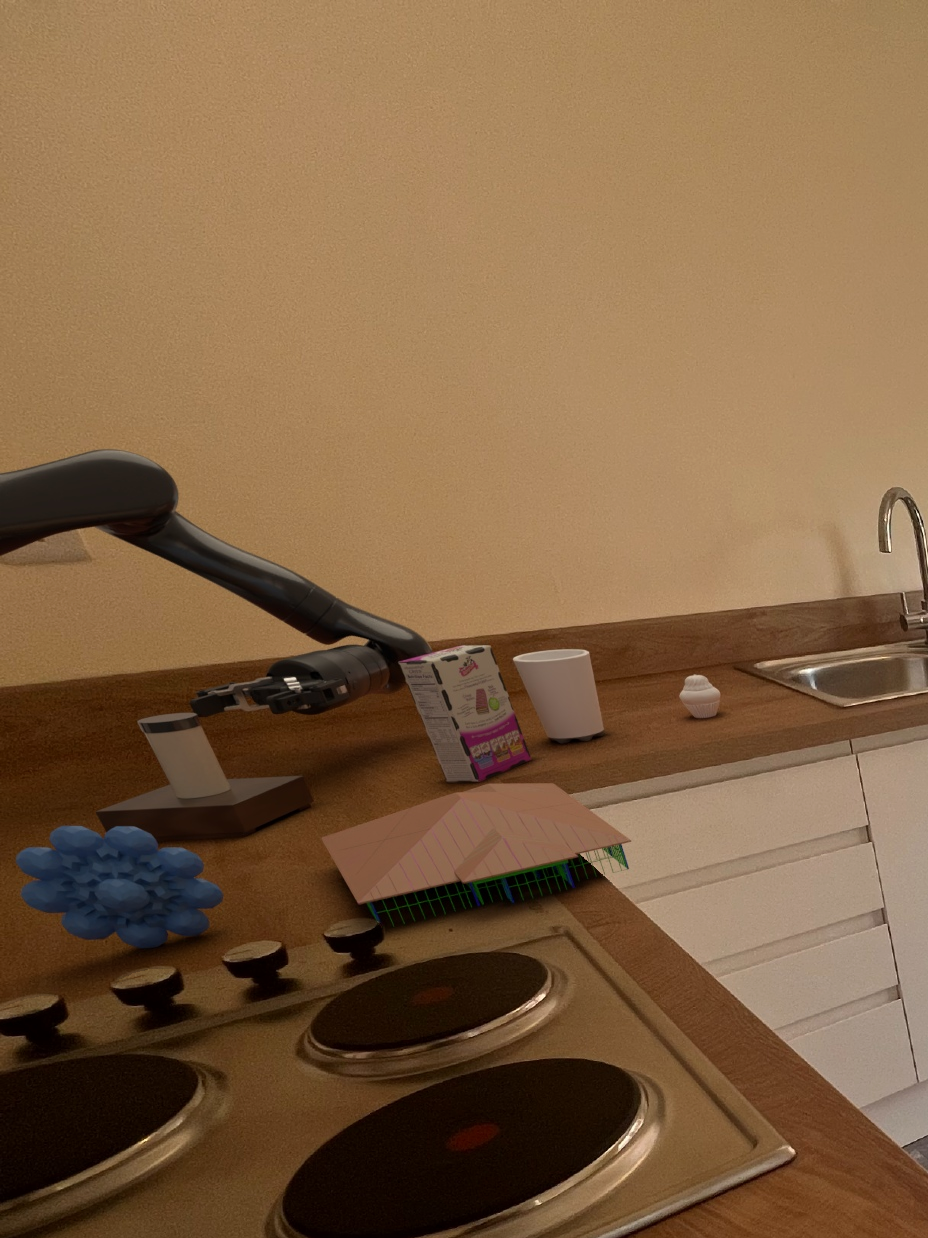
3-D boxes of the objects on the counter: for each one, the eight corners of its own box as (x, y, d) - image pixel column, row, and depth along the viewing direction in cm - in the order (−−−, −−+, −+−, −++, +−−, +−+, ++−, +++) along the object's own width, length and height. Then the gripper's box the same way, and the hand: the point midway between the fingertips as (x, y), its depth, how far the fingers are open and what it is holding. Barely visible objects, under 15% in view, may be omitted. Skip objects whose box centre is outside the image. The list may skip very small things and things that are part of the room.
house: (377, 944, 95) (340, 861, 91) (327, 856, 116) (296, 785, 112) (648, 875, 109) (626, 801, 106) (561, 808, 130) (540, 744, 127)
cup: (596, 727, 168) (572, 646, 162) (625, 736, 163) (601, 653, 157) (528, 740, 161) (500, 656, 155) (556, 749, 156) (528, 663, 150)
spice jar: (163, 800, 122) (124, 723, 118) (196, 787, 126) (160, 713, 122) (211, 797, 122) (174, 721, 118) (242, 785, 127) (208, 711, 123)
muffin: (700, 711, 178) (689, 670, 174) (733, 712, 177) (723, 670, 174) (676, 720, 172) (665, 677, 169) (710, 721, 171) (699, 678, 168)
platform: (112, 844, 120) (94, 811, 118) (193, 812, 130) (177, 781, 128) (248, 837, 122) (232, 804, 120) (316, 805, 132) (303, 775, 130)
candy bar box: (499, 760, 150) (458, 644, 143) (533, 760, 150) (493, 644, 143) (442, 783, 140) (395, 659, 133) (478, 783, 140) (433, 659, 133)
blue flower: (60, 983, 88) (-21, 851, 83) (65, 958, 93) (-11, 831, 87) (242, 942, 96) (179, 818, 90) (239, 920, 100) (179, 801, 95)
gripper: (250, 655, 141) (154, 679, 127) (366, 651, 143) (284, 674, 128) (275, 710, 144) (184, 740, 130) (388, 705, 146) (310, 734, 132)
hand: (234, 707), depth 129 cm, fingers open, 8 cm apart
